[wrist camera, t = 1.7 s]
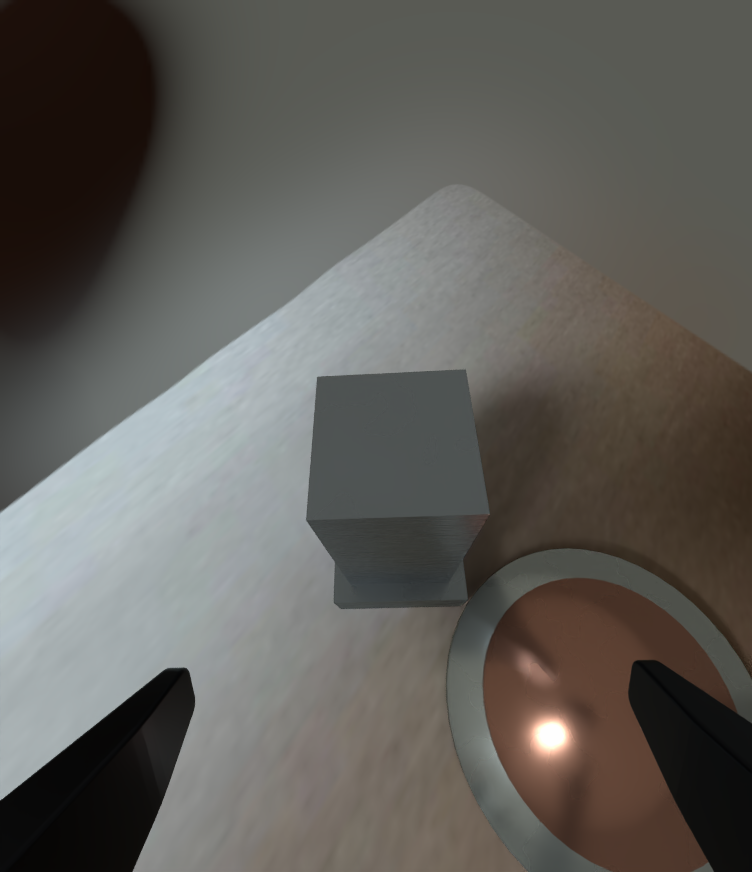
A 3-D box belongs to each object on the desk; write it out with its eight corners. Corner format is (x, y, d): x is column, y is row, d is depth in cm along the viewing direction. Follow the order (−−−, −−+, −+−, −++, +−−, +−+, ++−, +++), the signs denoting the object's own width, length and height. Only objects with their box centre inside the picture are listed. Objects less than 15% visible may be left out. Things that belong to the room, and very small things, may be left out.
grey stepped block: (460, 606, 19) (528, 544, 9) (341, 609, 20) (272, 552, 9) (447, 493, 22) (487, 349, 12) (344, 496, 23) (294, 359, 12)
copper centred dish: (776, 1018, 13) (812, 1053, 12) (403, 802, 16) (403, 813, 15) (759, 615, 18) (782, 612, 17) (488, 515, 22) (492, 507, 20)
